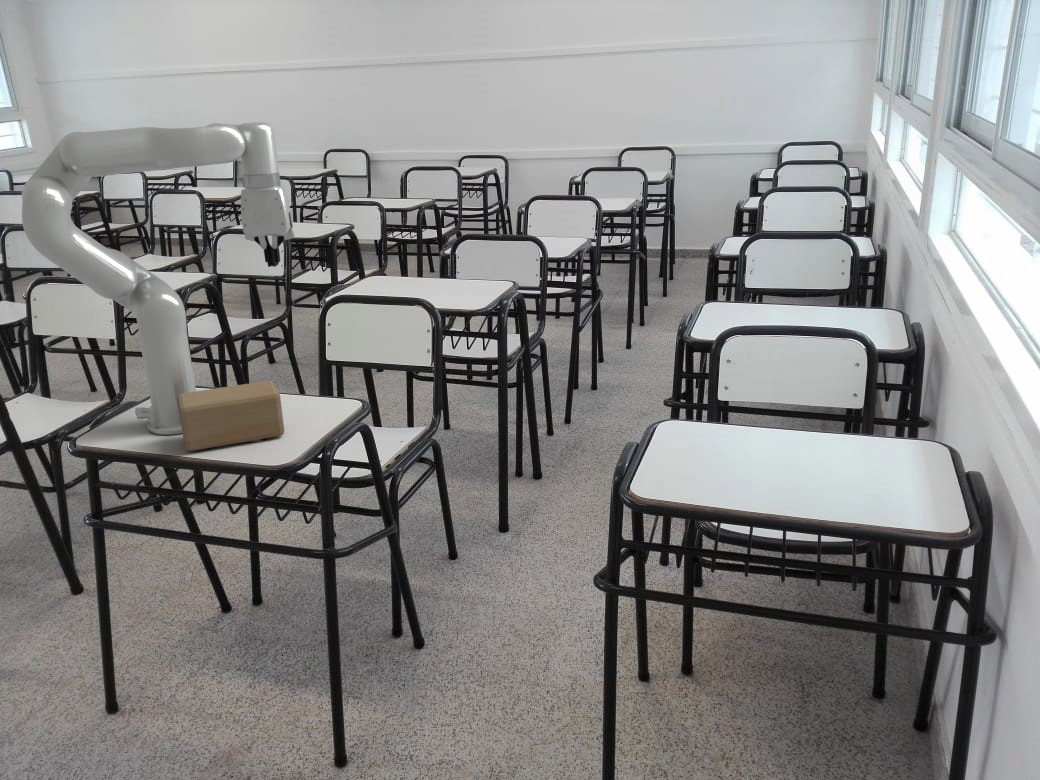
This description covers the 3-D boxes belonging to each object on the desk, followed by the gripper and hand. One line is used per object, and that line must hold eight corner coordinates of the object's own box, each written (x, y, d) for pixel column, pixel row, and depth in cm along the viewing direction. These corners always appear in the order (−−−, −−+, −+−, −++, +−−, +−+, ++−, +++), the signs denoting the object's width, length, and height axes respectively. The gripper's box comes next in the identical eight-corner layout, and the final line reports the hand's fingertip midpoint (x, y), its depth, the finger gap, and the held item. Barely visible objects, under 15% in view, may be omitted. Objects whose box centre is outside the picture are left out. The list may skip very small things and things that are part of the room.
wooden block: (278, 420, 189) (183, 436, 181) (273, 378, 186) (176, 392, 178) (285, 436, 180) (186, 453, 173) (280, 392, 177) (178, 408, 169)
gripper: (222, 185, 180) (235, 270, 186) (292, 183, 180) (302, 268, 186) (233, 181, 187) (245, 263, 193) (300, 179, 187) (310, 261, 193)
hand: (273, 265), depth 190 cm, fingers closed
